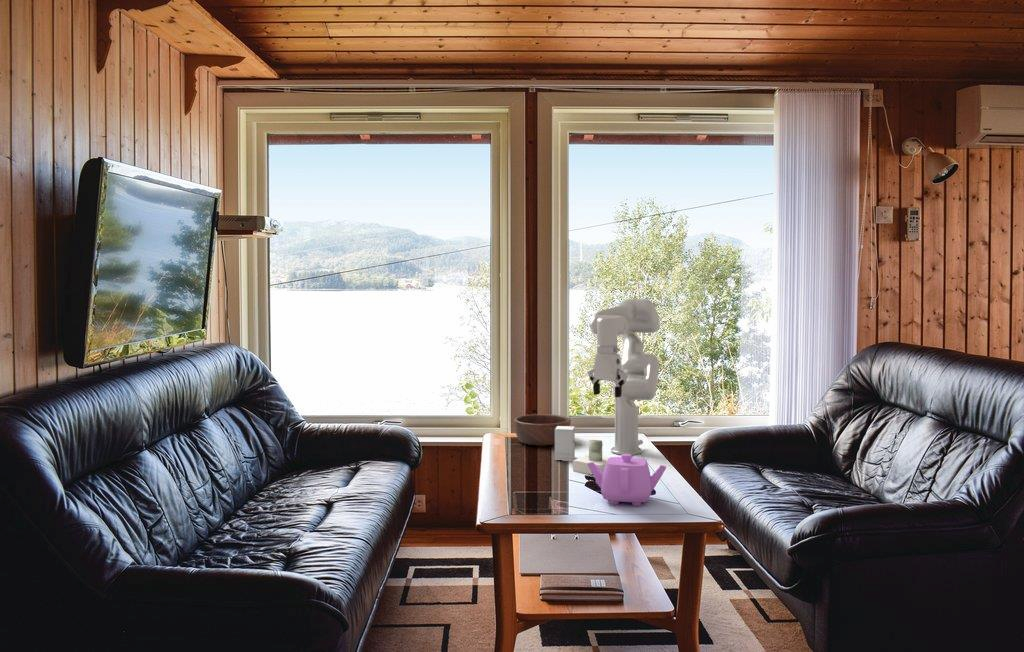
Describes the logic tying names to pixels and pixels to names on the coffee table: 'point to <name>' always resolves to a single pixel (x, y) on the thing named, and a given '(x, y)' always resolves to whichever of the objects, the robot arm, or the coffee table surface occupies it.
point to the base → (582, 464)
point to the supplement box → (565, 443)
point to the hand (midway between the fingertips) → (607, 395)
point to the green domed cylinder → (595, 450)
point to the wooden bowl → (539, 428)
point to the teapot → (626, 479)
